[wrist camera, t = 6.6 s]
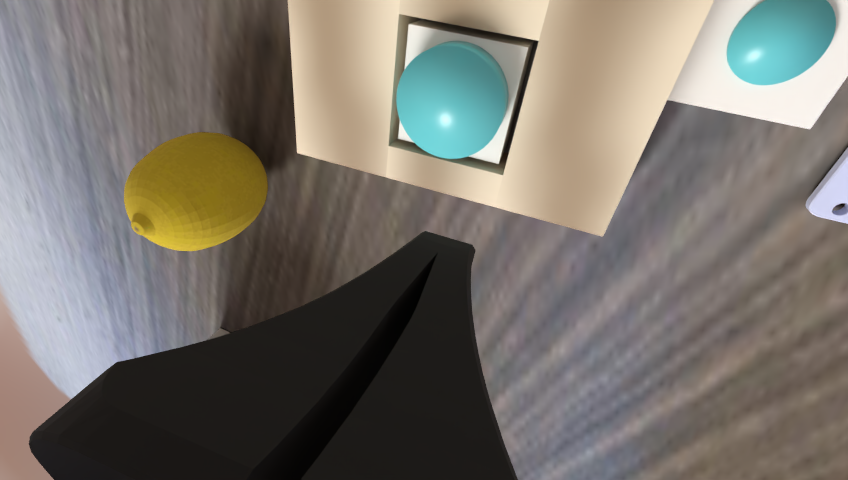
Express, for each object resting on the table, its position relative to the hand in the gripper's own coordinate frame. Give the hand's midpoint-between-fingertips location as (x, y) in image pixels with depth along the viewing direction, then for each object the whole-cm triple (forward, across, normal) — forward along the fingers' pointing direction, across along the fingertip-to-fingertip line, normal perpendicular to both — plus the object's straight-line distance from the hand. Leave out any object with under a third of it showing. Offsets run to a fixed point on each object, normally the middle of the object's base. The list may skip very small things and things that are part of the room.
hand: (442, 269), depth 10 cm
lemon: (+11, +14, +5) cm, 18 cm away
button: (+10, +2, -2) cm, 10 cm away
